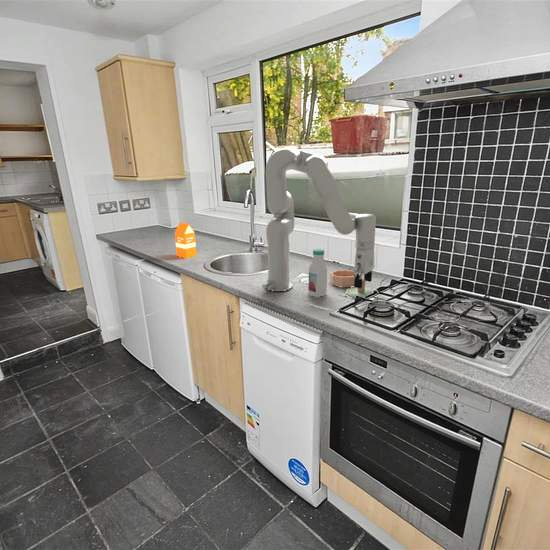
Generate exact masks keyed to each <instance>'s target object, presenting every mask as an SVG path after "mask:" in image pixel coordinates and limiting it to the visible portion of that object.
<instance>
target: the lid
mask: <svg viewBox="0 0 550 550" xmlns="http://www.w3.org/2000/svg"><path fill="white" fill-rule="evenodd" d="M361 279H362V288H356V287H352V288H351V287H350V288H346V290H345V291H346V292H345V293H346V295H348V296H350V297H352V298H355V297H356V296H360V297H366V296H368V295H369V294H371V293H372V292H373V291H375V290H374V289H373V288H369V287H366V282H367V281H366V280H365V279H364V278H361Z"/></svg>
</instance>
